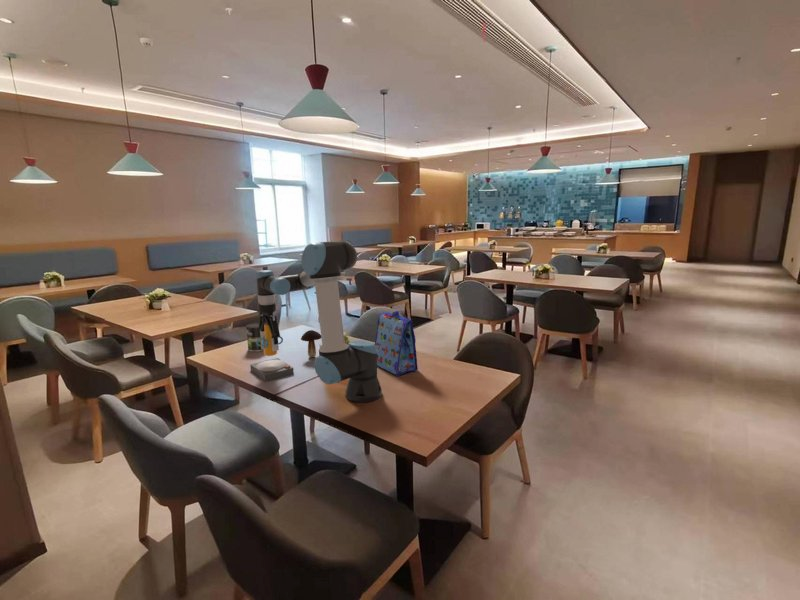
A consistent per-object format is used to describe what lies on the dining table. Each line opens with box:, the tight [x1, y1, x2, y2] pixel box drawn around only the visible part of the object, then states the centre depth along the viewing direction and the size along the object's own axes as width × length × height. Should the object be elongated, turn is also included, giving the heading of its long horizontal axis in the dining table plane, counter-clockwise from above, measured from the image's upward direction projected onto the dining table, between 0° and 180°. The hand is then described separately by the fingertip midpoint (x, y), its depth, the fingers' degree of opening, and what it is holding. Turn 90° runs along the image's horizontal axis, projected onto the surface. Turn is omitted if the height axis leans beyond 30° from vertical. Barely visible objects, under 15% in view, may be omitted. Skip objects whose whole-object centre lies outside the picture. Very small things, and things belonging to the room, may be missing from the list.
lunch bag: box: [374, 310, 419, 377], centre depth 196 cm, size 22×14×29 cm, turn 37°
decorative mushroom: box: [300, 329, 322, 358], centre depth 212 cm, size 11×11×15 cm
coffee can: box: [245, 322, 264, 353], centre depth 226 cm, size 10×10×14 cm
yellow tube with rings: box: [256, 323, 284, 357], centre depth 190 cm, size 12×10×15 cm
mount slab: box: [249, 357, 295, 382], centre depth 193 cm, size 18×14×4 cm
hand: (270, 347), depth 191 cm, fingers closed on yellow tube with rings, 12 cm apart
